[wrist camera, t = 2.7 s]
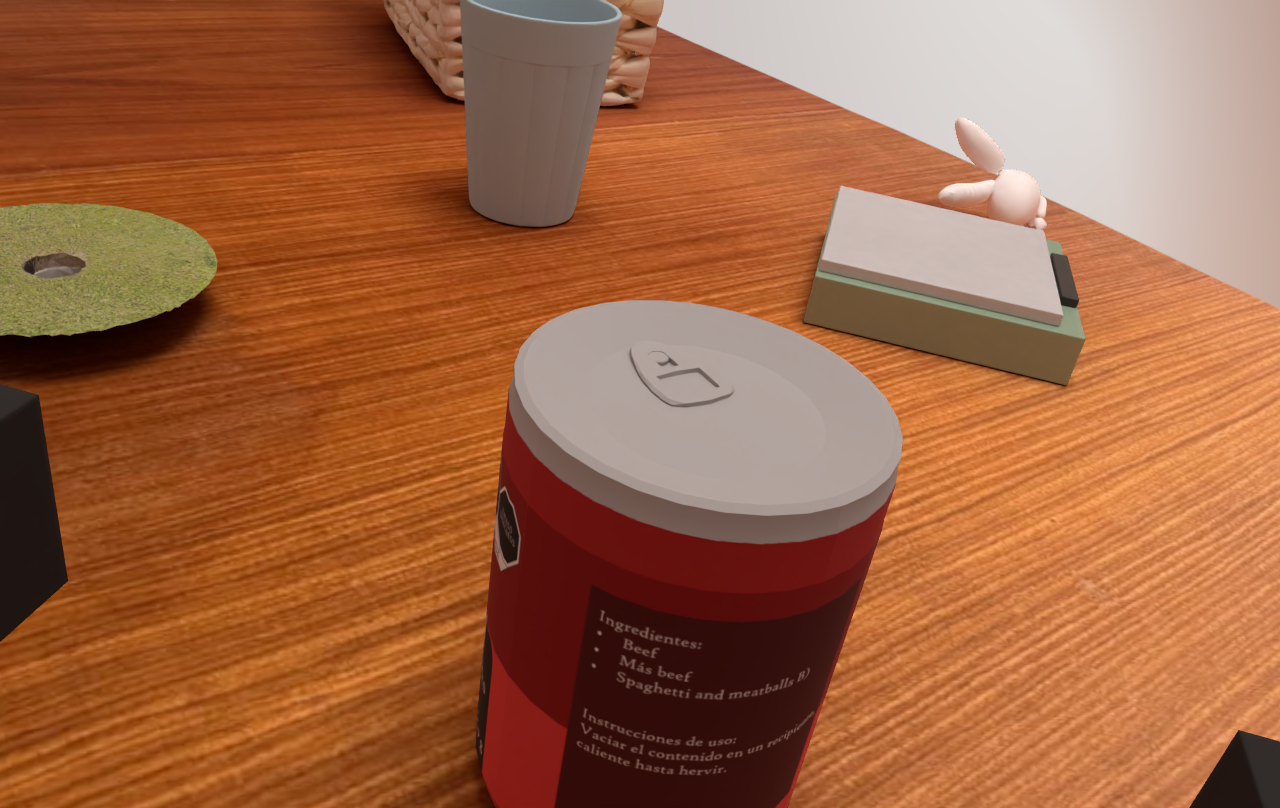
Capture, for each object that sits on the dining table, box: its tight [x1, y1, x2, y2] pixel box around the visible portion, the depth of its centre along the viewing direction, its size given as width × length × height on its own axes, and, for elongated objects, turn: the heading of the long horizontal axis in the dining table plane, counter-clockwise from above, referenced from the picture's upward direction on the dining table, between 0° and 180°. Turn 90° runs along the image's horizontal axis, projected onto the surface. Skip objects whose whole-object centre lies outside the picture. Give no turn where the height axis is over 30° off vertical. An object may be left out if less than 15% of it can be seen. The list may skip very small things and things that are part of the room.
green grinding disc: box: [0, 203, 217, 337], centre depth 41 cm, size 11×11×2 cm
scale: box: [803, 186, 1085, 385], centre depth 53 cm, size 12×12×3 cm
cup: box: [460, 0, 622, 227], centre depth 54 cm, size 8×8×10 cm
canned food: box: [476, 300, 903, 808], centre depth 24 cm, size 8×8×11 cm
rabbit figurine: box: [938, 118, 1047, 230], centre depth 64 cm, size 6×4×8 cm
